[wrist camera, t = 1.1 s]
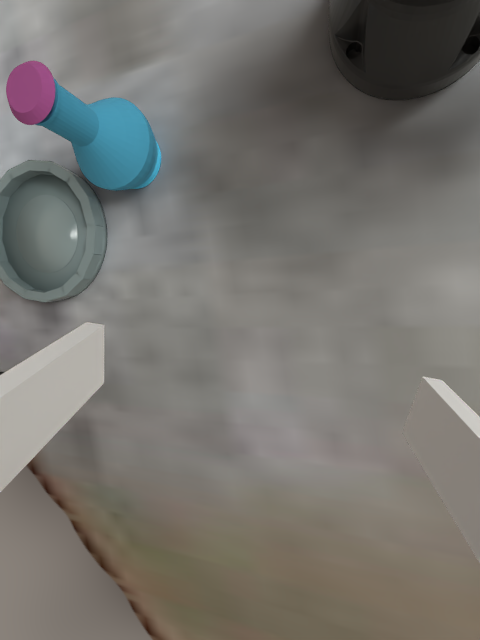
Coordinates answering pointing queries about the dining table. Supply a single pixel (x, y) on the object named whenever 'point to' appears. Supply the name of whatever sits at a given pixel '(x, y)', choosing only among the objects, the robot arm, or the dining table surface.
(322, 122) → the dining table surface
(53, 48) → the dining table surface
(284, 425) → the dining table surface
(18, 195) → the round dish
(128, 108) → the perfume bottle
